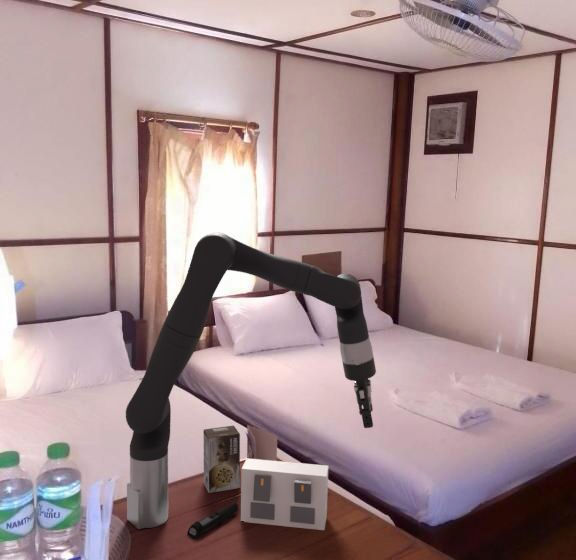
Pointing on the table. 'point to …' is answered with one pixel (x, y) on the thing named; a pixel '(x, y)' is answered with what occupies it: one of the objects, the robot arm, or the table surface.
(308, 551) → the table surface
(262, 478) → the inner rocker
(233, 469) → the coffee box
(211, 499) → the table surface
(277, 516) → the white switch box
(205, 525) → the electric trimmer
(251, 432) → the greeting card
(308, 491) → the outer rocker
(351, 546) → the table surface
